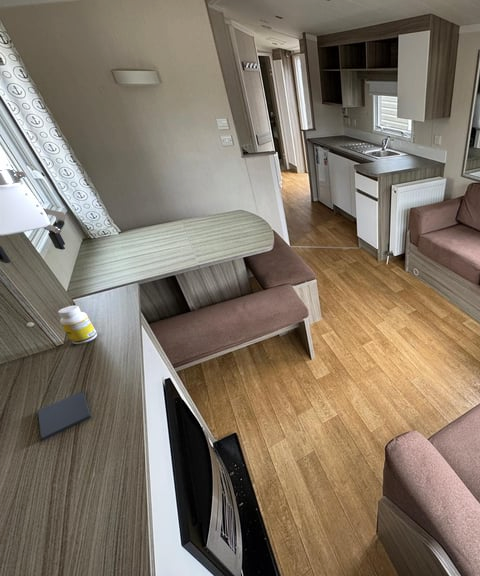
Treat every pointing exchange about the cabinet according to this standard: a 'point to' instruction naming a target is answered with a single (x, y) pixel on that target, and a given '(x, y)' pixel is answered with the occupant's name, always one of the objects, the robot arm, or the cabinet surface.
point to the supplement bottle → (77, 325)
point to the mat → (63, 415)
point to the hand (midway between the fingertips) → (34, 255)
